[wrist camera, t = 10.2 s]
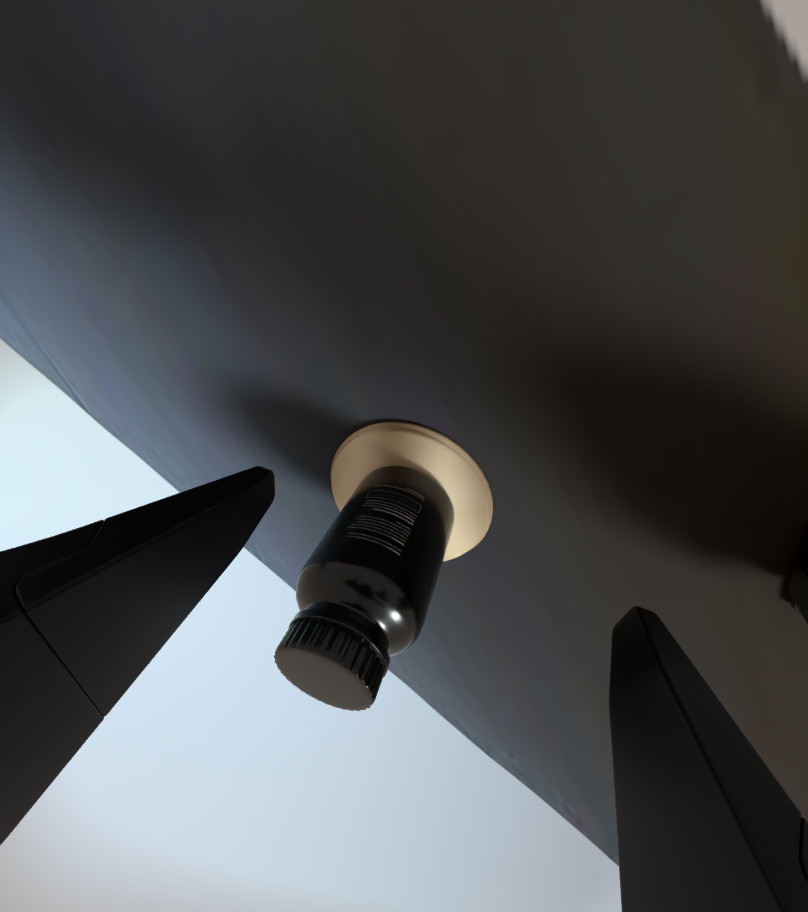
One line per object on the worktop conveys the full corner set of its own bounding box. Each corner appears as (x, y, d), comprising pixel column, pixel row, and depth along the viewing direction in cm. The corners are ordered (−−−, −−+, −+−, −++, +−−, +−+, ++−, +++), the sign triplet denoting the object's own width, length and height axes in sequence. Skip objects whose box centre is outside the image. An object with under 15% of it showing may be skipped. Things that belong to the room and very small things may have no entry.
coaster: (470, 407, 21) (467, 414, 21) (508, 558, 26) (507, 567, 26) (307, 434, 26) (301, 440, 26) (365, 556, 31) (361, 563, 31)
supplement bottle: (343, 494, 27) (229, 651, 18) (400, 442, 23) (291, 608, 14) (413, 554, 28) (341, 732, 19) (479, 514, 24) (429, 715, 15)
